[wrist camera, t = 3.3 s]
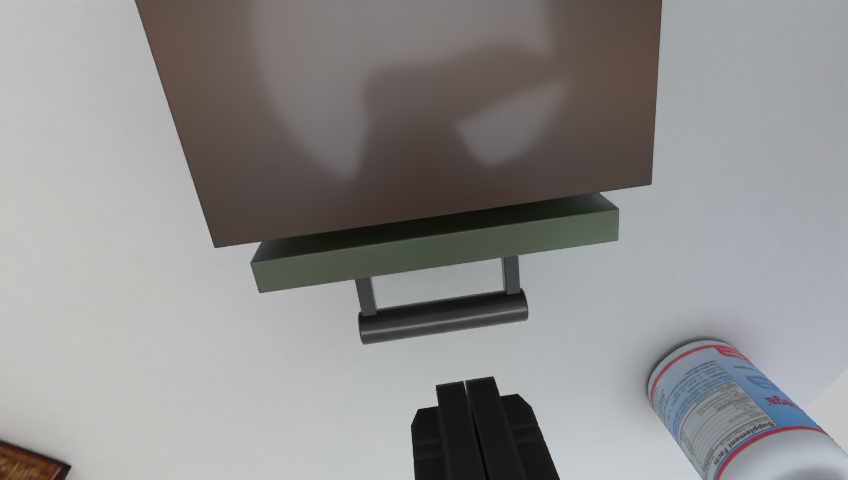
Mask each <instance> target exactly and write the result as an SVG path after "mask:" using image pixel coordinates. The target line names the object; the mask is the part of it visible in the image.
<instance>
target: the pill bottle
mask: <svg viewBox="0 0 848 480" xmlns="http://www.w3.org/2000/svg"><path fill="white" fill-rule="evenodd" d="M648 397H649V401H650V403H651V406H652V407H653V409H654V410H655V412H656V413H657V415H658V416H659V418H660V419H661V421H662V422H663V423H664V425H665V426H666V428H667V429H668V431H669V432H670V434H671V435H672V436H673V438H674V439H675V441H676V442H677V444H678V445H679V447H680V448H681V449H682V451H683V452H684V454H685V455H686V457H687V458H688V459H689V461H690V462H691V464H692V465H693V466H694V468H695V469H696V471H697V472H698V474H699V475H700V476H701V478H702V479H703V480H848V455H847V454H846V453H845V451H844V450H843V449H842V448H841V447H840V446H839V445H838V444H837V443H836V442H835V441H834V440H833V439H832V438H831V437H830V436H829V435H828V434H827V433H826V432H825V431H824V430H823V429H822V428H821V427H820V426H818V425H817V424H816V423H815V422H814V421H813V420H812V419H811V418H810V417H809V416H807V414H806V413H805V412H804V411H803V410H801V409H800V408H799V407H798V406H797V405H796V404H795V403H794V402H793V401H792V400H791V399H790V398H788V397H787V396H786V395H785V394H784V393H783V392H782V391H781V390H780V389H779V388H778V387H777V386H776V385H775V384H773V383H772V382H771V381H770V380H769V379H768V378H767V377H766V376H765V375H764V374H763V373H762V372H760V371H759V370H758V369H757V368H756V367H755V366H754V365H753V364H752V363H751V362H750V361H749V360H748V359H747V358H745V357H744V356H743V355H742V354H741V353H740V352H739V351H737V350H736V349H735V348H733V347H732V346H730V345H728V344H726V343H723V342H719V341H712V340H703V341H696V342H693V343H689V344H687V345H684V346H682V347H680V348H678V349H677V350H675V351H673V352H672V353H671V354H669V355H668V356H667V357H666V358H665V359H664V360H663V361H662V362H661V363H660V364H659V365H658V366H657V367H656V369H655V370H654V372H653V373H652V375H651V378H650V380H649V384H648Z"/></svg>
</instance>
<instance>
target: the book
mask: <svg viewBox="0 0 848 480" xmlns="http://www.w3.org/2000/svg"><path fill="white" fill-rule="evenodd" d="M70 468H71V466H68V465H65V464H62V463H59V462H56V461H53V460H50V459H47V458H44V457H41V456H39V455H36V454H33V453H30V452H27V451H24V450H21V449H18V448H15V447H12V446H9V445H6V444H4V443H1V442H0V480H65V478H66V476H67V474H68V472H69V470H70Z"/></svg>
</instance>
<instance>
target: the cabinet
mask: <svg viewBox="0 0 848 480" xmlns="http://www.w3.org/2000/svg"><path fill="white" fill-rule="evenodd" d="M135 2H136V5H137V8H138V11H139V15H140V18H141V21H142V24H143V27H144V30H145V33H146V36H147V39H148V42H149V46H150V49H151V52H152V55H153V58H154V61H155V64H156V67H157V70H158V74H159V77H160V80H161V83H162V86H163V89H164V92H165V95H166V98H167V101H168V105H169V108H170V111H171V114H172V117H173V120H174V123H175V126H176V129H177V132H178V136H179V139H180V142H181V145H182V148H183V151H184V154H185V157H186V160H187V164H188V167H189V170H190V173H191V176H192V179H193V182H194V185H195V188H196V191H197V195H198V198H199V201H200V204H201V207H202V210H203V213H204V216H205V219H206V222H207V226H208V229H209V232H210V235H211V238H212V241H213V244H214V247H215V248H219V247H226V246H233V245H240V244H247V243H254V242H261V241H267V240H274V239H281V238H288V237H295V236H302V235H309V234H316V233H323V232H329V231H336V230H343V229H350V228H357V227H364V226H371V225H378V224H384V223H391V222H398V221H405V220H412V219H419V218H426V217H433V216H439V215H446V214H453V213H460V212H467V211H474V210H481V209H488V208H494V207H501V206H508V205H515V204H522V203H529V202H536V201H543V200H549V199H556V198H563V197H570V196H577V195H584V194H591V193H598V192H605V191H611V190H618V189H625V188H632V187H639V186H646V185H651V183H652V166H653V149H654V131H655V114H656V96H657V79H658V61H659V44H660V27H661V9H662V0H135Z"/></svg>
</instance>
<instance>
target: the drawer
mask: <svg viewBox="0 0 848 480" xmlns="http://www.w3.org/2000/svg"><path fill="white" fill-rule="evenodd" d="M618 228H619V208H617V207H616V206H615V205H614V204H612V203H611V202H610V201H609V200H607V199H606V198H605V197H604V196H602V195H601V194H600V193H599V192H598V193H591V194H584V195H577V196H570V197H563V198H556V199H549V200H543V201H536V202H529V203H522V204H515V205H508V206H501V207H494V208H488V209H481V210H474V211H467V212H460V213H453V214H446V215H439V216H433V217H426V218H419V219H412V220H405V221H398V222H391V223H384V224H378V225H371V226H364V227H357V228H350V229H343V230H336V231H329V232H323V233H316V234H309V235H302V236H295V237H288V238H281V239H274V240H267V241H262V242H261V244H260V246H259V248H258V249H257V251H256V253H255V255H254V257H253V259H252V260H251V263H250V264H251V267H252V270H253V274H254V277H255V281H256V284H257V287H258V291H259V293H264V292H271V291H278V290H285V289H292V288H298V287H305V286H312V285H319V284H325V283H332V282H339V281H346V280H353V279H355V282H356V287H357V292H358V297H359V302H360V307H361V311H360V312H359V314H358V324H359V332H360V337H361V341H362V343H363V344H364V345H366V344H372V343H379V342H386V341H392V340H399V339H406V338H412V337H419V336H426V335H432V334H439V333H446V332H453V331H459V330H466V329H473V328H479V327H486V326H493V325H499V324H506V323H513V322H519V321H526V320H527V319H528V305H527V300H526V296H525V293H524V291H523V289H522V288H520V280H519V262H518V255H522V254H529V253H536V252H543V251H550V250H556V249H563V248H570V247H577V246H583V245H590V244H597V243H604V242H611V241H617V240H618ZM495 258H501V260H502V274H503V288H504V290H501V291H494V292H488V293H481V294H474V295H467V296H461V297H454V298H447V299H440V300H434V301H427V302H420V303H413V304H407V305H400V306H393V307H387V308H380V309H377V305H376V300H375V295H374V289H373V284H372V279H371V277H373V276H380V275H387V274H393V273H400V272H407V271H414V270H421V269H427V268H434V267H441V266H448V265H454V264H461V263H468V262H475V261H482V260H488V259H495Z"/></svg>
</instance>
